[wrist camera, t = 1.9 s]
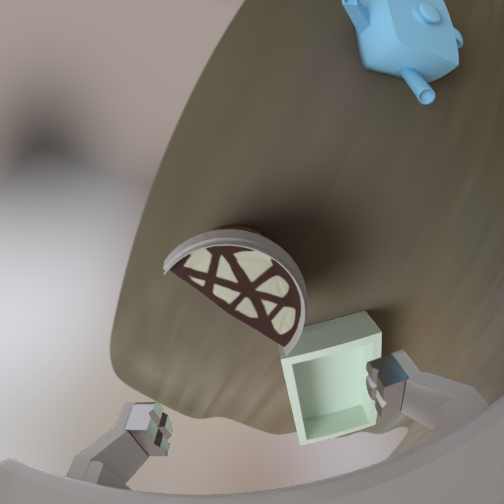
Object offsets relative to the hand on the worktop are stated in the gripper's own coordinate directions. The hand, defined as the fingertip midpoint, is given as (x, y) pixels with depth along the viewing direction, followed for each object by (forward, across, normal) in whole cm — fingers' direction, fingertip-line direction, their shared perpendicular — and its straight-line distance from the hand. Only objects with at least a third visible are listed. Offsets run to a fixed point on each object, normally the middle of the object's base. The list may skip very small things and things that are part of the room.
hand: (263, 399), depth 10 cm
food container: (+21, 0, 0) cm, 21 cm away
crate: (+20, -6, +19) cm, 28 cm away
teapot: (+20, -20, -20) cm, 35 cm away
